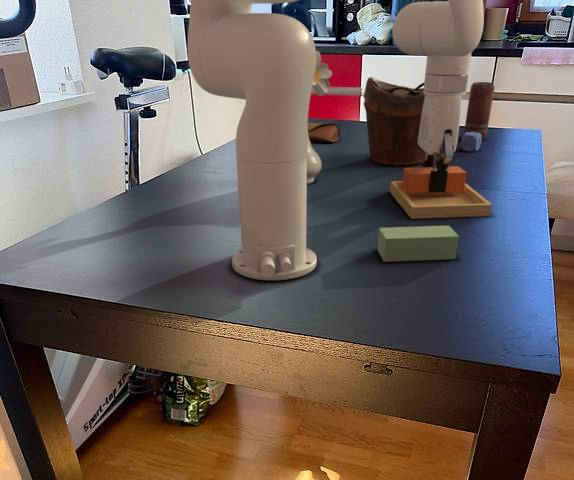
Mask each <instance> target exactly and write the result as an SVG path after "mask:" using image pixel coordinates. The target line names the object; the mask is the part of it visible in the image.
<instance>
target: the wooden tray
mask: <svg viewBox="0 0 574 480" xmlns="http://www.w3.org/2000/svg"><path fill="white" fill-rule="evenodd" d="M402 183H403V180H401V181H400V180H397V181H396V180H393V181H392V180H391V181H390V183H389V193H390V194H391V195H392V197H393V198H394V199H395V201H396V202H397V203H398V204H399V205H400V206H401V208H402V209H403V210H404V212H405V213H406V214H407V215H408V217H409V218H410V219H411V220H414V219H415V220H416V219H442V218H443V219H445V218H471V217H473V218H475V217H491V214H492V208H493V204H492V203H491V202H490V201H489V200H487V199H486V198H485V197H484V196H482V195H481V194H480V193H479V192H477V191H476V190H475V189H473V188H472V187H471V186H470V185H469V184H467V183H466V182H465V186H464V191H462V192H435V193H408V192H407V191H406V190H405V189H404V188H403V187H402Z"/></svg>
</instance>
